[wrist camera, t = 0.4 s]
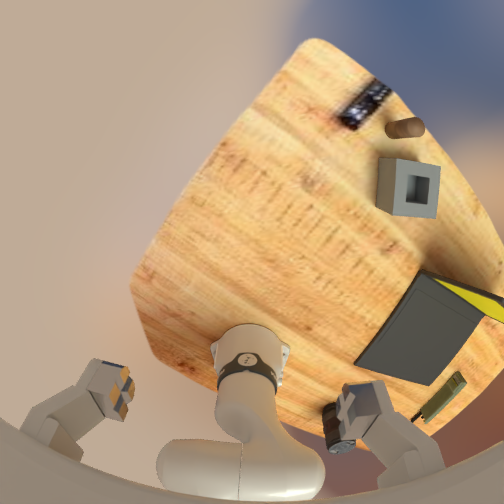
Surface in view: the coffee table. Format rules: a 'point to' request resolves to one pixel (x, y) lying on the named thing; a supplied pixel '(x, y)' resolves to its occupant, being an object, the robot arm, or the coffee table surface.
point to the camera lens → (334, 432)
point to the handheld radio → (442, 398)
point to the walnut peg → (405, 128)
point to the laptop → (428, 328)
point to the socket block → (408, 188)
